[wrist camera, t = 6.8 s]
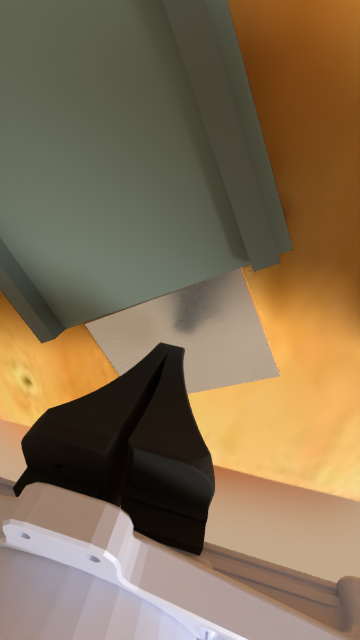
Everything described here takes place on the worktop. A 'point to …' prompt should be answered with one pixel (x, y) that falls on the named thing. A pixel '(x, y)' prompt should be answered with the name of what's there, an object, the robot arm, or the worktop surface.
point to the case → (126, 157)
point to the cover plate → (194, 333)
